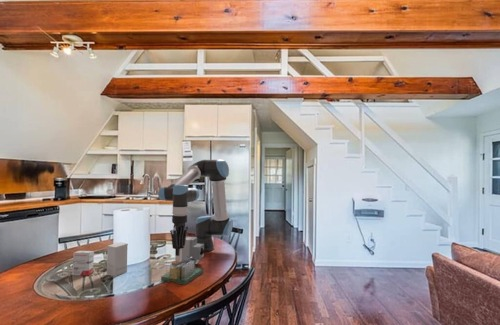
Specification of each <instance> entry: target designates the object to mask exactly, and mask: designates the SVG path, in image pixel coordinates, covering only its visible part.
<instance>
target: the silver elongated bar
mask: <svg viewBox="0 0 500 325" xmlns="http://www.w3.org/2000/svg"><path fill="white" fill-rule="evenodd" d="M190 260H194V257H188V256H187V258H184V259H182V261H181V262H179V261H175V260H173V261H171V264H172V265H175V266H177V265H180V264H182V263H185V262H188V261H190Z"/></svg>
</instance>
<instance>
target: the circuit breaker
mask: <svg viewBox="0 0 500 325" xmlns="http://www.w3.org/2000/svg"><path fill="white" fill-rule="evenodd" d="M183 247H184V248H182V259H184V258H187V256H188V257H194V260H191V261H195V264H196V263H197V261H199V260H201V259H202V258H204V254H205V253H206V251H205V250H204V244H197V237H196V236H186V241H185V246H183Z"/></svg>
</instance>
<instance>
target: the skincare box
mask: <svg viewBox="0 0 500 325" xmlns="http://www.w3.org/2000/svg"><path fill="white" fill-rule="evenodd" d="M128 245H129V244H128V243H126V242H121V241H119V242H115V243H112V244H109V245H107V255H106V275H107V276H111V277H114V278H115V277H118V276H120V275H122V274H125V273H127V272H128Z"/></svg>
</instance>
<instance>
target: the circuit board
mask: <svg viewBox="0 0 500 325" xmlns="http://www.w3.org/2000/svg"><path fill="white" fill-rule="evenodd" d="M203 273H204V268H199V267H196V263H195V261H191V260H190V261H188V262H185V263H182V264H180V265H177V266H175V265H172V263H171V264H170V265H169V272H167V273H165V274H163V275H162V276H160V281H161V282H168V283H175V284H180V285H185V286H186V285H188V284H189V283H191V281H193V280H194V279H196V278H197V277H199V276H200V275H202V274H203Z"/></svg>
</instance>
